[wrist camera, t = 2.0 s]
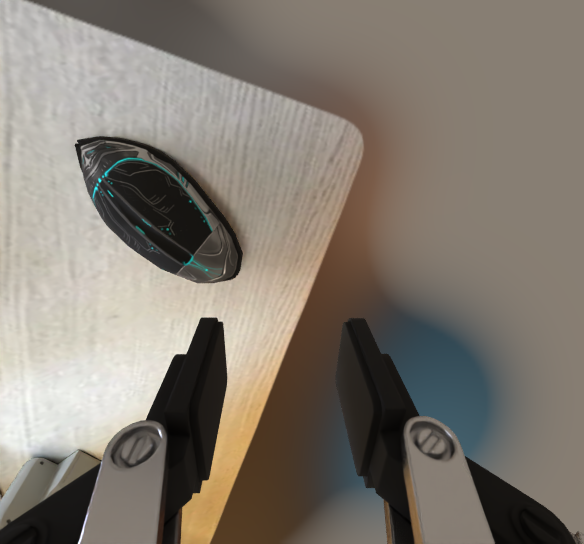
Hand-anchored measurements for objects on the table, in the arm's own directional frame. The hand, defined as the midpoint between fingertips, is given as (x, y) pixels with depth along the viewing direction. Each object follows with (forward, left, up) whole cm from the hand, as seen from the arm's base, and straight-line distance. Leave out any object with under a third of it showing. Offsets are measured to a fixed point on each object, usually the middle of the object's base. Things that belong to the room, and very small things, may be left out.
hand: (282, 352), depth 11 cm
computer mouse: (-3, -10, -20) cm, 22 cm away
